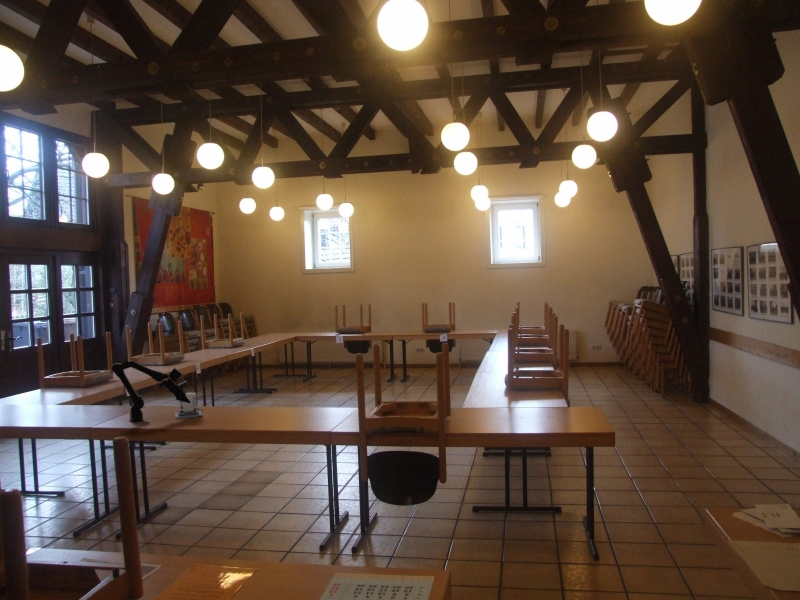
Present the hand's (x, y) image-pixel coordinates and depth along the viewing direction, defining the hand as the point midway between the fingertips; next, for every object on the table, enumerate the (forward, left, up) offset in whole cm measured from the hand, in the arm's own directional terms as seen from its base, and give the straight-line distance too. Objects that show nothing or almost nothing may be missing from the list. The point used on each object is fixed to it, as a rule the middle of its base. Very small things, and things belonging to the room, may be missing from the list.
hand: (189, 402), depth 378 cm
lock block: (-1, +1, -7) cm, 7 cm away
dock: (-1, 0, -9) cm, 9 cm away
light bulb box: (+9, +19, -9) cm, 23 cm away
